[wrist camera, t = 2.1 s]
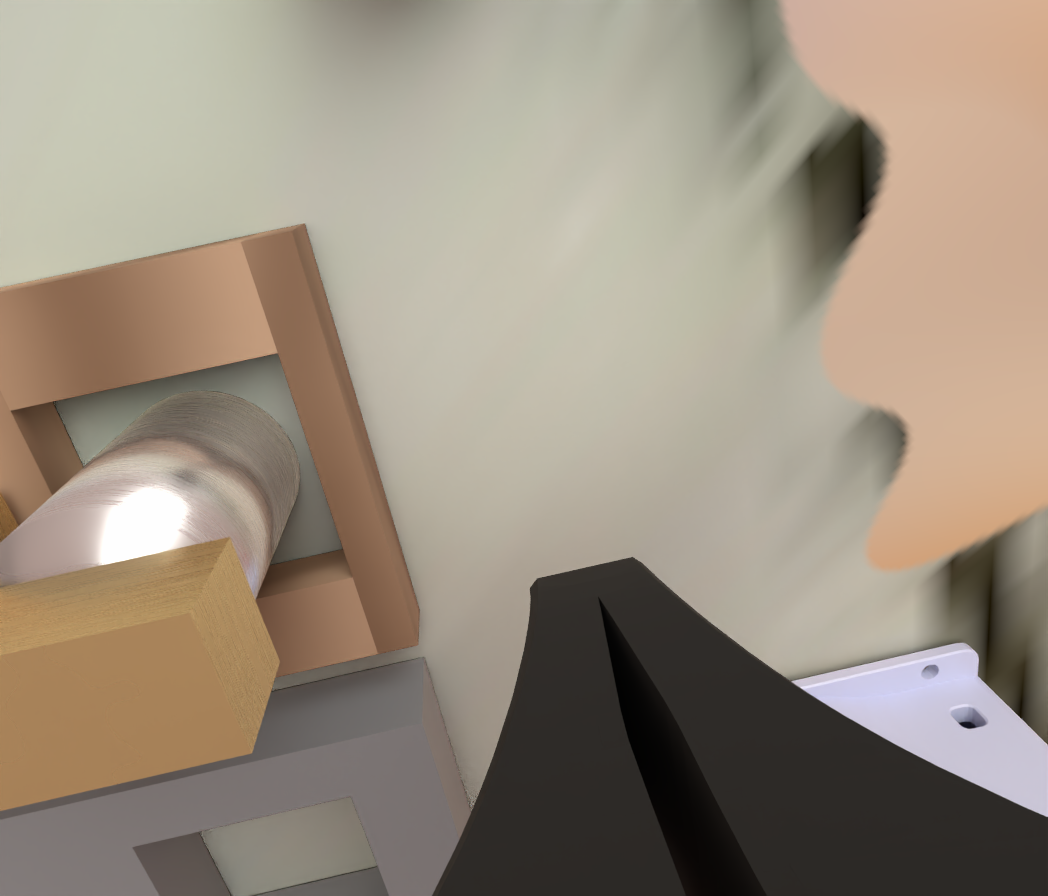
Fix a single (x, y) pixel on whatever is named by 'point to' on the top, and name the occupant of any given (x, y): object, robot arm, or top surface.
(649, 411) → the top surface
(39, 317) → the socket board
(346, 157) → the top surface
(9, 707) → the bar
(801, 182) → the top surface
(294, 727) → the frame
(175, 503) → the peg
